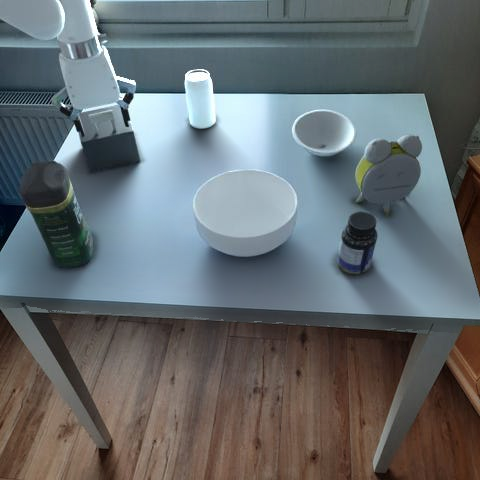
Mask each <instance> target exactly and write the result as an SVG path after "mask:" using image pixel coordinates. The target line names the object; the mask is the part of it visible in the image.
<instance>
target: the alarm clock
mask: <svg viewBox="0 0 480 480" xmlns="http://www.w3.org/2000/svg"><path fill="white" fill-rule="evenodd" d="M422 150H423V144H422V141H421V139H420V136H419V135H415V134H405V135H403V136H401V137H400V138H399V139H398V140H397V141H395V140H394V141H388V140H386V139H384V138H374V139H372V140H371V141H370V142H369V143H367V145H366V147H365V149H364V155H363V156H362V157H361V159H360V160H359V161H358V163H357V166H356V168H355V176H354V177H355V182H356V185H357V186H358V188H359V191H360V194H359V196H358V197H357V198H356V200H355V203H356V204H360V203H361V202H363V201H365V200H366V202H368V203H370V204H373V205H377V206H382V207H383V208H382V209H383V212H384V215H385V216H389V215H390V209H391V205H392V204H394V203H397V202H399V201H401V200H403V199H404V198H406V197H407V196H408V195H409V194H410V193H412V192H413V190H414V189H415V188H416V186H417V185H418V183H419V180H420V179H421V174H422V170H421V169H422V168H421V164H420V161H419V160H418V158H419V156H421V153H422Z"/></svg>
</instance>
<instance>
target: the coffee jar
mask: <svg viewBox="0 0 480 480" xmlns="http://www.w3.org/2000/svg"><path fill="white" fill-rule="evenodd" d="M19 194H20V197H21V199H22V201H23V204H24V206H25V207H26V209H27V210H28V211H29V214H30V215H31V216H32V219H33V220H34V222H35V225H36V227H37V229H38V231H39V233H40V235H41V238H42V240H43V242H44V244H45V246H46V249H47V251H48V253H49V256H50V258H51V260H52V262H53V264H54V265H55V266H56V267H58V268H63V269H72V268H78V267H81V266H84V265H85V264H87V263H88V262H90V260H91V259H92V256H93V252H94V238H93V235H92V233H91V230H90V227H89V226H88V223H87V221H86V219H85V216H84V215H83V212H82V209H81V206H80V204H79V201H78V199H77V196H76V194H75V191H74V187H73V184H72V181H71V179H70V176H69V174H68V171H67V169H66V167H65V166H64V165H63V164H61V163H60V162H57V161H56V160H44V161H36V162H31V165H30V166H29V167H27V168H26V170H25V171H24V172H23V174H22V177H21V181H20V185H19Z"/></svg>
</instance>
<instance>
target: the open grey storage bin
mask: <svg viewBox="0 0 480 480" xmlns="http://www.w3.org/2000/svg"><path fill="white" fill-rule="evenodd" d="M81 147H82V150H83V153H84V156H85V158H86V162H87V165H88V167H89V169H90V173H95V172H100V171H104V170H108V169H113V168H116V167H122V166H126V165H131V164H134V163H139V162H141V156H140V153H139V149H138V144H137V139H136V136H135V133H134V134H133V135H128V136H124V137H119V138H115V139H110V140H106V141H101V142H96V143H92V144H87V145H83V146H82V145H81Z"/></svg>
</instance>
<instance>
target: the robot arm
mask: <svg viewBox="0 0 480 480" xmlns="http://www.w3.org/2000/svg"><path fill="white" fill-rule="evenodd" d="M0 20H1V21H3V22H4V23H6V24H8V25H10V26H12V27H14V28H15V29H18V31H21V32H22V33H24V34H26V35H28V36H30V37H32V38H33V39H36V40H39V41H52V40H53V39H56V40H57V43H58V46H59V49H60V53H59V54H58V59H59V65H60V70H61V73H62V74H61V75H62V78H63V81H64V85H65V86H63V87H62V89H60V90H59V91H58V92H57V93H55V94H54V95H53V96H52V97H51V100H50V101H51V104H52V105H53V107H55V108H56V109H57V110H59V112H60V113H61V114H63V115H64V116H66V117H68V118H69V119H70V120H71V121H72V122H73V125H74V127H75V130H76V132H77V133H78V132H80V133H81V135H82V137H84V136H85V133H84V129H83V126H82V123H81V120H80V117H79V113H81V110H87V109H92V108H97V107H103V106H107V105H111V104H115V103H116V105H120V109H121V112H122V116H123V120H124V123H125V126H126V127H129V124H128V121H130V122H131V121H132V120H131V116H130V111H129V108H130V105H131V103H132V101H133V100H134V98H135V93H136V89H137V84H136V82H135V80H131V79H130V80H129V79H128V78H124V77H120V76H117V75H116V73H115V70H114V66H113V64H112V61H111V58H110V55H109V52H108V50H107V47H106V46H104V45H103V44H105V43H107V42H108V37H107V34H106V33H100V32H99V31H98V29H97V25H96V22H95V18H94V14H93V10H92V7H91V2H90V0H0ZM120 87H122V88H125V89H127V91H126V92H125V94H124V95H122V94H121V91H120ZM67 97H68V99H69V101H70V103H71V104H70V106H67V105H66V104H64V103H63V102H62V101H64V100H65V99H66V98H67Z"/></svg>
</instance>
